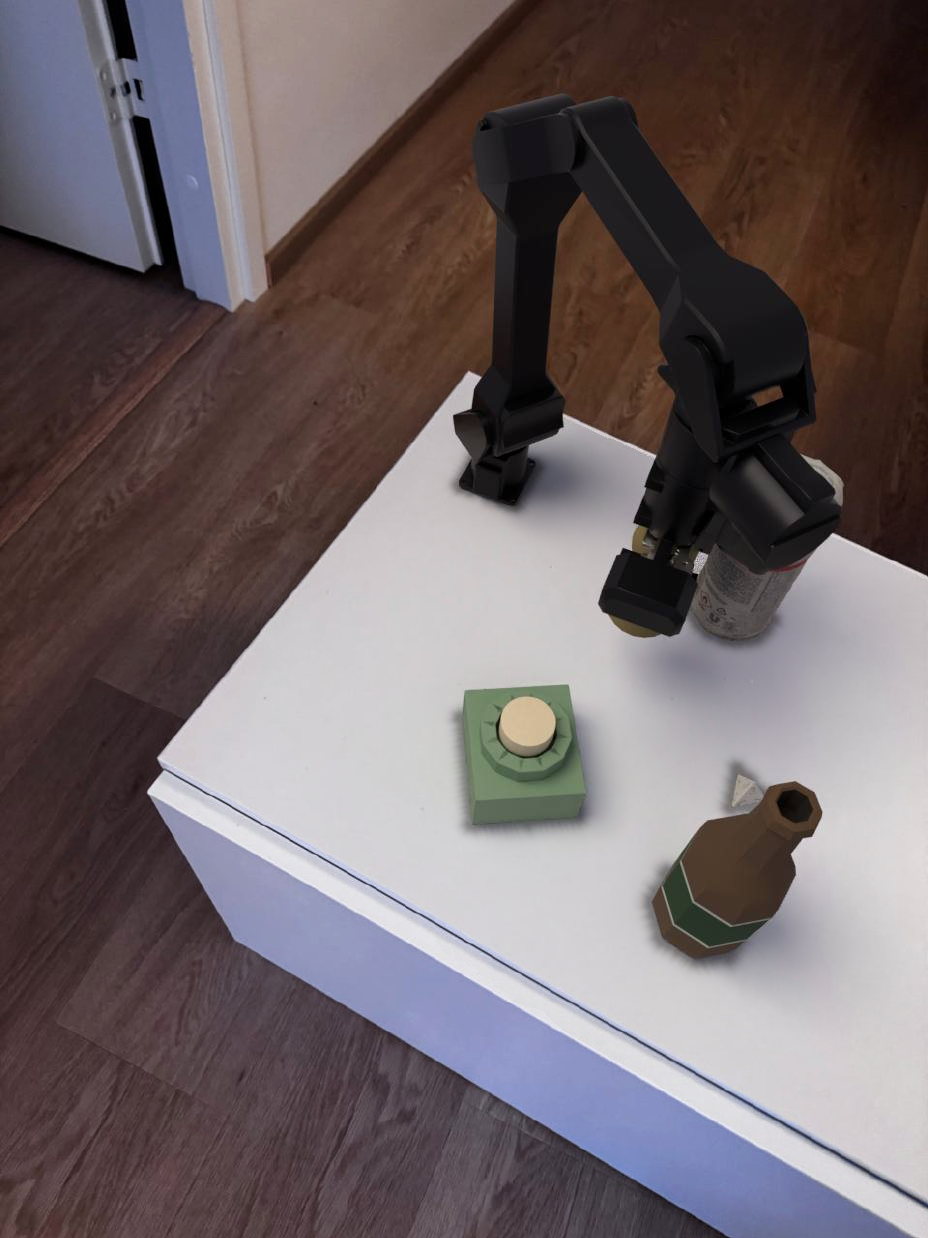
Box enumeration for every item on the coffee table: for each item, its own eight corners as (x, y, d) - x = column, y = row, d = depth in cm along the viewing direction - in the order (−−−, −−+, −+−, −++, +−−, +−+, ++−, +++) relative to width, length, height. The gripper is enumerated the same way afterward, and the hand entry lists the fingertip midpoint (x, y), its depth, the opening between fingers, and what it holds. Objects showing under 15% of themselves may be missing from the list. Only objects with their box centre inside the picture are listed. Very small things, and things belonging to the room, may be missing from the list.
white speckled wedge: (753, 778, 87) (759, 755, 85) (767, 802, 85) (773, 779, 83) (717, 785, 86) (721, 762, 84) (730, 809, 84) (735, 786, 82)
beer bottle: (742, 972, 77) (862, 881, 56) (644, 951, 77) (727, 853, 57) (746, 877, 81) (859, 760, 60) (654, 857, 81) (735, 734, 61)
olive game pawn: (652, 650, 81) (685, 576, 72) (592, 612, 83) (616, 535, 74) (688, 603, 84) (724, 526, 75) (629, 567, 86) (657, 487, 76)
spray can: (778, 648, 93) (860, 519, 76) (693, 644, 92) (755, 514, 76) (765, 575, 97) (840, 438, 80) (684, 571, 97) (741, 433, 80)
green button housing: (461, 718, 87) (465, 678, 81) (560, 712, 88) (572, 672, 82) (471, 825, 82) (476, 791, 76) (576, 817, 83) (590, 783, 76)
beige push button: (496, 709, 80) (497, 697, 78) (548, 706, 80) (551, 694, 79) (501, 758, 78) (504, 747, 76) (556, 755, 78) (559, 744, 76)
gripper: (783, 600, 61) (717, 712, 74) (839, 404, 70) (772, 534, 84) (615, 541, 63) (580, 660, 76) (692, 358, 72) (649, 492, 86)
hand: (652, 584), depth 80 cm, fingers closed on olive game pawn, 4 cm apart
